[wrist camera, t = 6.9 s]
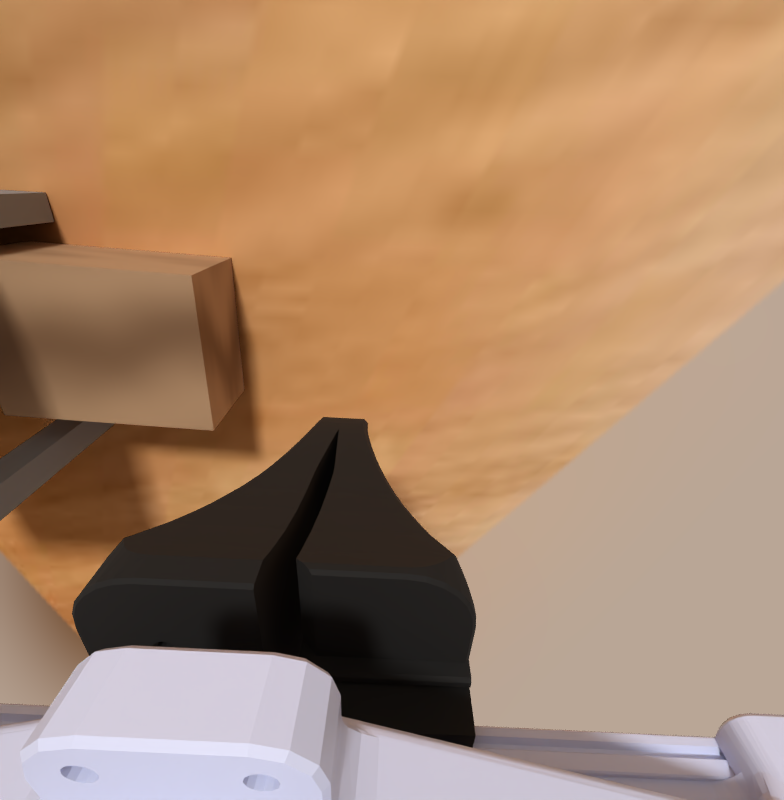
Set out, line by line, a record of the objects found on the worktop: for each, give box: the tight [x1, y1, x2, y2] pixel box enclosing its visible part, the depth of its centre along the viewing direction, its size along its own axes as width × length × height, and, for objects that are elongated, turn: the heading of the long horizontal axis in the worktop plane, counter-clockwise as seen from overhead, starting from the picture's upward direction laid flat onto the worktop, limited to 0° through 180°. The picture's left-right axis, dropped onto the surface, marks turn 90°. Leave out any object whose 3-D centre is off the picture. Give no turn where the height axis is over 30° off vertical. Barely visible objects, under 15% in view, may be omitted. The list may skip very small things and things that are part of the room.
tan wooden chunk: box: [0, 241, 244, 431], centre depth 19 cm, size 7×10×4 cm
